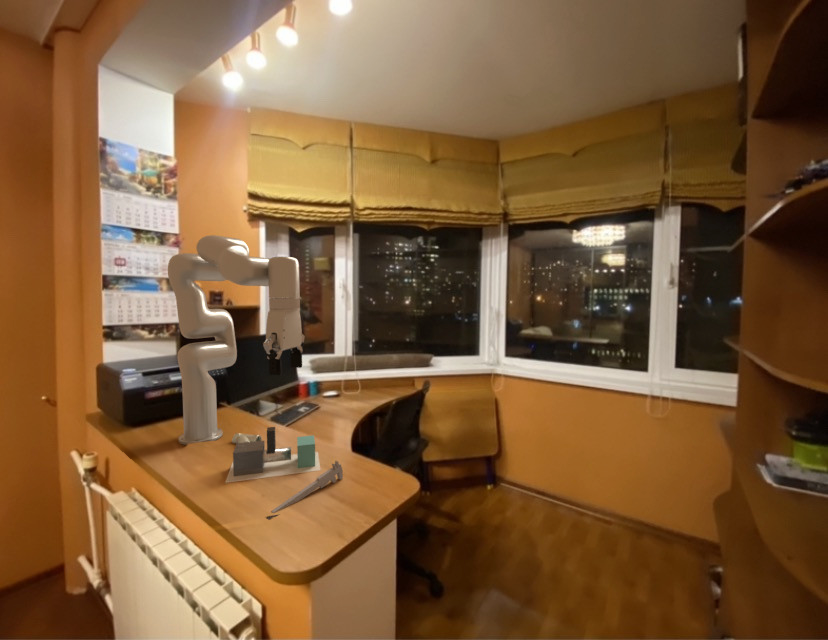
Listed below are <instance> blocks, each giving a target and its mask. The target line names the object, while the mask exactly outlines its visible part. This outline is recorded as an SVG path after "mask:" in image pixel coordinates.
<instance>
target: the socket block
mask: <svg viewBox="0 0 828 640" xmlns="http://www.w3.org/2000/svg"><path fill="white" fill-rule="evenodd" d="M296 440H297V441H296V442H297V443H296V444H297V445H296V446H297V447H296V448H297V453H296V454H297V455H298V468H304V467H312V466H315V452H316V440H315V435H313V434H311V435H305V436H297V437H296Z"/></svg>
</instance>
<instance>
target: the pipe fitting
mask: <svg viewBox="0 0 828 640" xmlns="http://www.w3.org/2000/svg"><path fill="white" fill-rule="evenodd" d="M254 441H263V440H262V435H259V434H248V433H247V434H246V433H239V432H236V433H235V434H234V435H233V437H232V439H231V442H232V444H237V443H245V442H254Z"/></svg>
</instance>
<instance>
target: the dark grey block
mask: <svg viewBox="0 0 828 640" xmlns="http://www.w3.org/2000/svg"><path fill="white" fill-rule="evenodd" d="M263 450H266V449H265V440H262V441H254V442H245V443H235V446H234V449H233V452H232V463H233V473H234V476H242V475H249V474H257V473H263V470H264V464H265V463H263Z"/></svg>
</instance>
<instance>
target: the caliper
mask: <svg viewBox="0 0 828 640" xmlns="http://www.w3.org/2000/svg"><path fill="white" fill-rule="evenodd" d="M331 466H332V467H330V468H329V469H327V470H326V471H324V472H323V473H322V474H320V475H319V476H318V477H316V479H315V480H314V481H312V482H311V483H310V484H308V485H307V486H305V487H304V488H302V489H301V490H300V491H298V492H297V493H296V494H293V496H291V497H289V498H288V499H286V500H285V501H284V502H282V503H281V504H279V505H278V506H276V507H274V508H273V509H272V510H271V513H273V515H267V516H266V517H265V518H266V519H267V520H268V521H270V520H272V519H273V518H276V517H278V516H279V515H280V516H281V514H275V513H277V512H279V511H281V510H283V509H286V508H287V507H290V506H291V505H293V504H295V503H297V502H299V501H301V500H303V499H304V498H305V497H307V496H308V495H310V494H311V493H313V492H314V491H315V490H317V489H318V488H320V489H322V488H324V487H325V486H327V485H328V484H329V482H331V483H333V484H335V483H337V480H340V481H341V480H343V479H344V477H343V475H344V474H343V466H342V464H341V463H339V461H338V460H335V462H334V463H331ZM336 476H337V477H336Z"/></svg>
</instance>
